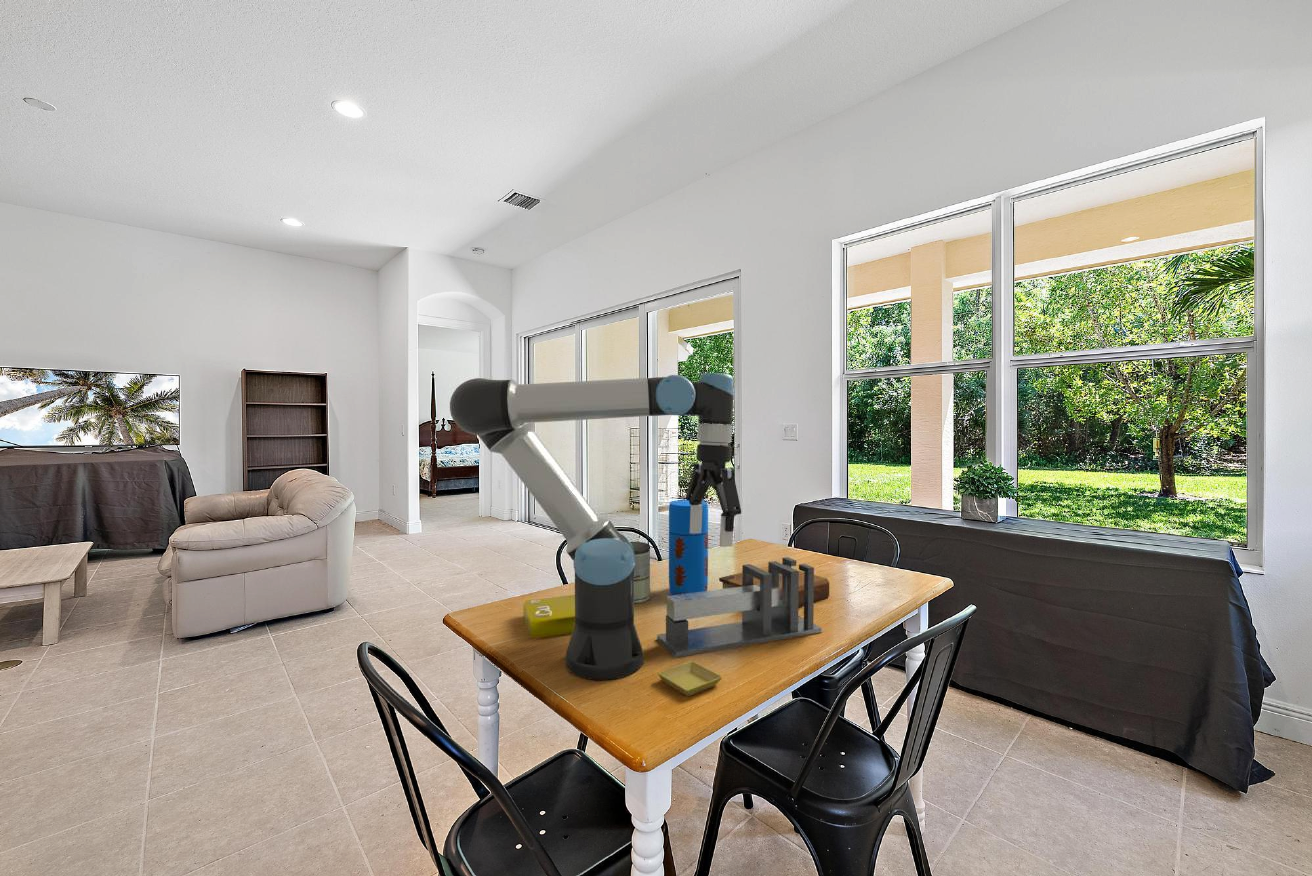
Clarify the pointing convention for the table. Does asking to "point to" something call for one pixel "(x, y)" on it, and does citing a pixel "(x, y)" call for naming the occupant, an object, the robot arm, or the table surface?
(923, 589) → the table surface
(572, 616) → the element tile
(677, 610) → the light grey square rod
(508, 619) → the table surface
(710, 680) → the saucer
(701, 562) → the thermos
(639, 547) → the coffee can
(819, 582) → the diary
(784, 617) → the grey slotted frame stand
